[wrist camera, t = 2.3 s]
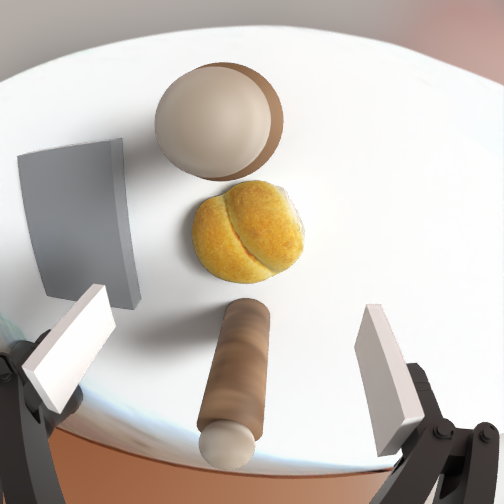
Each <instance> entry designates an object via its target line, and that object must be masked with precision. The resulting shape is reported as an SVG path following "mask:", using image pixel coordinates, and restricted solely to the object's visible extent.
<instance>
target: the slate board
mask: <svg viewBox="0 0 504 504" xmlns="http://www.w3.org/2000/svg"><path fill="white" fill-rule="evenodd" d="M17 158H18V167H19V176H20V183H21V190H22V197H23V203H24V208H25V214H26V219H27V224H28V229H29V233H30V238H31V242H32V246H33V250H34V254H35V258H36V261H37V265H38V269H39V272H40V275H41V279H42V282H43V285H44V288H45V291H46V294H47V296H51V297H56V298H61V299H67V300H73V301H78V300H79V299H80V298H81V296H82V295H83V294H84V293H85V292H86V291H87V290H88V289H89V288H90V287H91V286H92V285H93V284H99V285H105V288H106V292H107V296H108V300H109V304H110V307H116V308H123V309H130V310H134V309H135V307H136V306H137V304H138V303H139V301H140V300H141V296H140V290H139V285H138V279H137V274H136V268H135V262H134V255H133V249H132V242H131V234H130V227H129V219H128V210H127V200H126V190H125V178H124V165H123V147H122V138H118V139H109V140H101V141H93V142H86V143H79V144H72V145H66V146H60V147H55V148H49V149H44V150H39V151H34V152H29V153H26V154H22V155H19V156H17Z"/></svg>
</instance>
